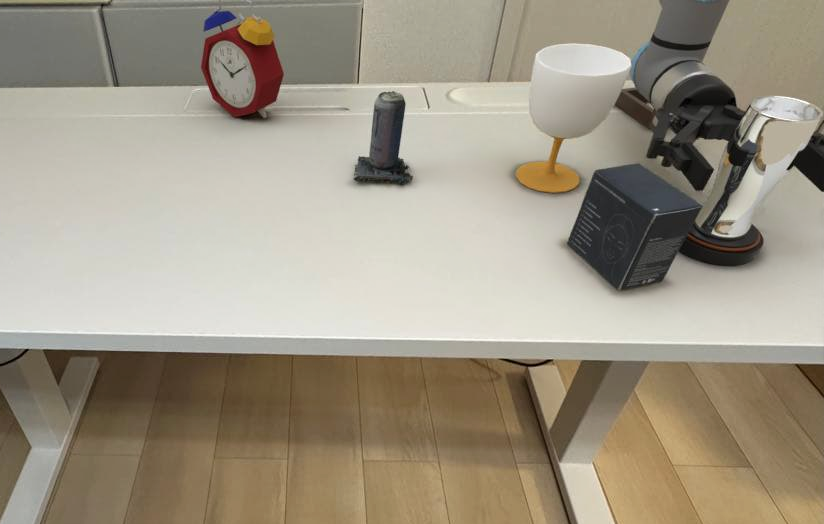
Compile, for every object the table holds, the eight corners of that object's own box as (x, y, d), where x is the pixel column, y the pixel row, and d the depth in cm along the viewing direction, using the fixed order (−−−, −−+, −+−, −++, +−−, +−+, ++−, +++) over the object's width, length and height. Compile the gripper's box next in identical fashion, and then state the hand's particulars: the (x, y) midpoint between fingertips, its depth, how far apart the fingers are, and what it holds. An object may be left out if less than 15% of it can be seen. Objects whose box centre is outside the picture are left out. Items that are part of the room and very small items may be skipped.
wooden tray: (669, 96, 106) (681, 68, 103) (710, 122, 99) (725, 92, 95) (612, 103, 105) (622, 74, 102) (649, 129, 98) (662, 99, 94)
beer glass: (761, 243, 70) (839, 122, 60) (698, 240, 71) (764, 120, 61) (739, 212, 75) (807, 95, 65) (680, 210, 76) (738, 93, 66)
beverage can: (403, 160, 94) (411, 84, 85) (414, 185, 88) (424, 105, 80) (346, 164, 94) (349, 88, 85) (354, 189, 88) (358, 110, 80)
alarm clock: (205, 108, 112) (189, -11, 98) (236, 93, 116) (225, -23, 102) (263, 127, 105) (254, 2, 90) (294, 110, 109) (290, -12, 95)
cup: (513, 197, 85) (544, 76, 73) (501, 158, 93) (527, 43, 81) (598, 199, 83) (645, 75, 71) (578, 159, 92) (617, 42, 80)
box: (665, 281, 70) (706, 205, 63) (617, 292, 69) (653, 216, 62) (608, 233, 77) (639, 160, 70) (564, 243, 76) (590, 169, 69)
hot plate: (719, 216, 79) (728, 200, 77) (775, 259, 72) (786, 243, 70) (650, 226, 78) (658, 210, 77) (700, 271, 71) (710, 255, 69)
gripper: (774, 128, 82) (867, 211, 67) (589, 128, 84) (638, 208, 69) (805, 72, 76) (914, 149, 61) (607, 74, 79) (665, 148, 64)
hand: (768, 180), depth 65 cm, fingers open, 12 cm apart
